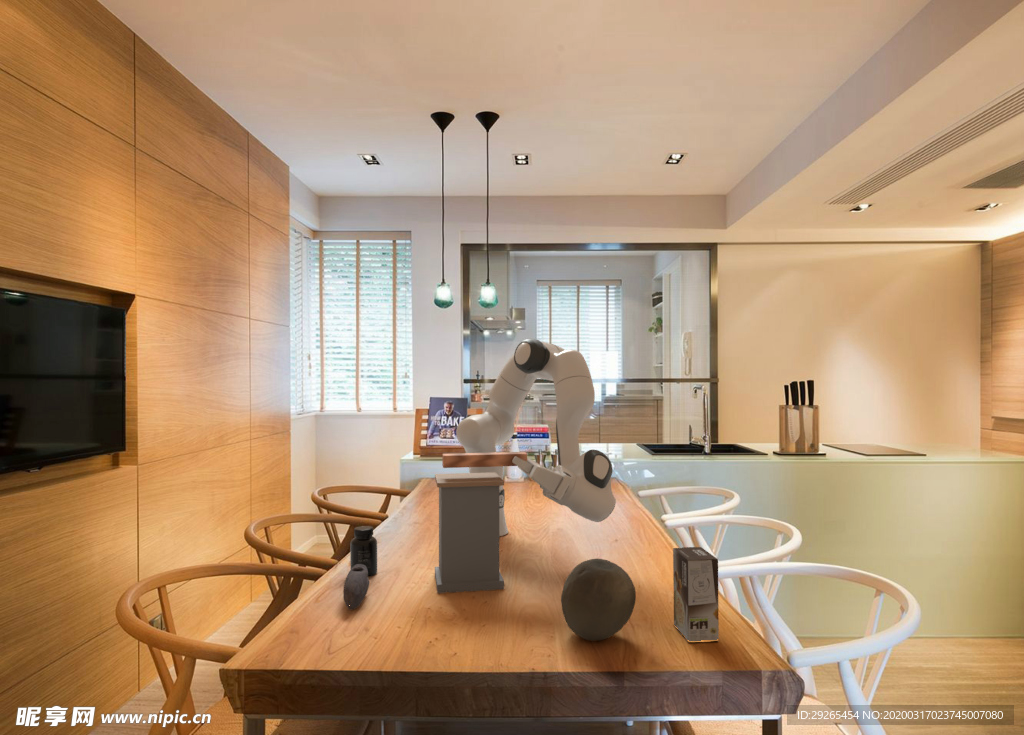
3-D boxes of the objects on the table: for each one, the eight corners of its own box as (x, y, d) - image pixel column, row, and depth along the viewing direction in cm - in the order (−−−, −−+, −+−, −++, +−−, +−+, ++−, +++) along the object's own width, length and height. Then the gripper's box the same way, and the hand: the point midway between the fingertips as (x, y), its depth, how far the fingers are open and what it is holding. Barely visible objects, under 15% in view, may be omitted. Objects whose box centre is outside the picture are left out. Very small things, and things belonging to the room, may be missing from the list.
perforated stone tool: (361, 615, 135) (361, 582, 135) (336, 615, 134) (336, 583, 134) (372, 591, 150) (372, 562, 150) (349, 591, 149) (349, 562, 149)
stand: (437, 593, 148) (437, 483, 148) (434, 574, 162) (434, 474, 162) (504, 589, 151) (504, 481, 151) (495, 571, 164) (495, 472, 165)
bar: (443, 467, 153) (443, 455, 154) (442, 465, 157) (442, 453, 157) (527, 465, 157) (527, 453, 157) (524, 463, 161) (524, 451, 161)
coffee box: (720, 642, 120) (719, 559, 121) (688, 643, 120) (687, 560, 120) (702, 623, 130) (701, 546, 130) (671, 624, 129) (671, 547, 129)
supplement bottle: (382, 571, 164) (382, 525, 165) (368, 579, 158) (368, 532, 158) (359, 568, 167) (359, 523, 167) (344, 576, 160) (345, 529, 160)
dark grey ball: (588, 659, 113) (588, 576, 114) (548, 631, 126) (548, 556, 126) (649, 644, 120) (649, 565, 120) (605, 618, 132) (605, 547, 133)
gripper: (553, 466, 171) (510, 441, 169) (573, 478, 151) (524, 451, 149) (542, 486, 170) (498, 462, 168) (560, 501, 150) (511, 474, 148)
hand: (511, 457), depth 158 cm, fingers closed on bar, 4 cm apart
